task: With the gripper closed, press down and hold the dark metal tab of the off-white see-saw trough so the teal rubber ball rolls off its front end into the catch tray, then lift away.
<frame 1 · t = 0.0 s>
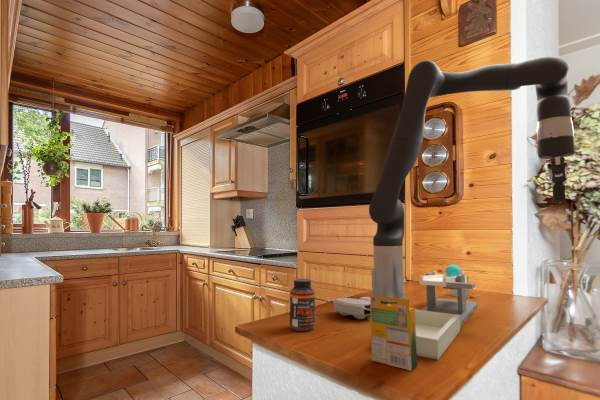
hand: (559, 201, 87), 29 cm above the counter, tool pointing down, fingers open, 8 cm apart
robot toy: (361, 315, 93), on the counter
architectural model: (461, 298, 114), on the counter
crayon box: (394, 364, 60), on the counter
catch tray: (420, 338, 73), on the counter
ball: (453, 271, 102), point 10 cm above the counter, tilted 15°, touching trough
supplement bottle: (302, 329, 81), on the counter
trough: (456, 281, 92), point 9 cm above the counter, hinge at -6.0°, touching ball
stand: (446, 313, 93), on the counter
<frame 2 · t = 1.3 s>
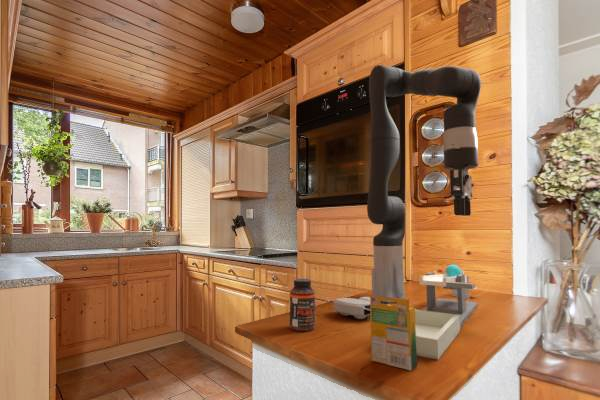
hand: (462, 215, 83), 26 cm above the counter, tool pointing down, fingers open, 8 cm apart
nothing on the counter moved.
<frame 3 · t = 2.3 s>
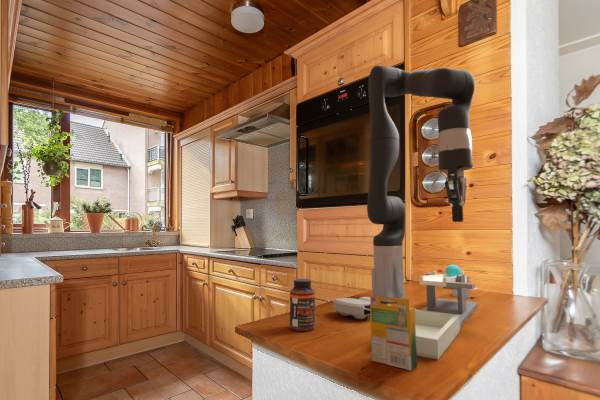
hand: (457, 221, 82), 25 cm above the counter, tool pointing down, fingers closed
nothing on the counter moved.
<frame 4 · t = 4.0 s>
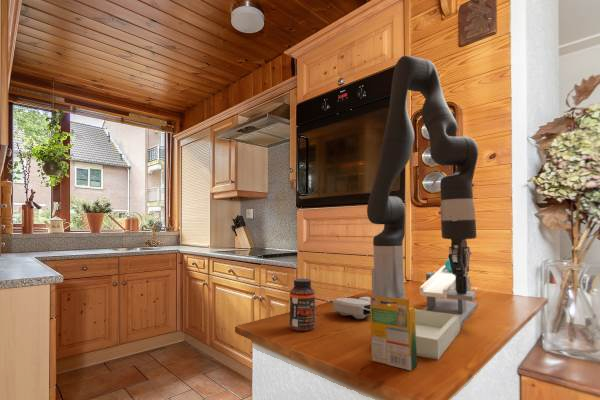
hand: (461, 292, 81), 8 cm above the counter, tool pointing down, fingers closed
ball: (452, 264, 102), point 12 cm above the counter, touching trough
trough: (456, 281, 92), point 9 cm above the counter, hinge at 6.1°, touching ball, gripper
everything else where it was.
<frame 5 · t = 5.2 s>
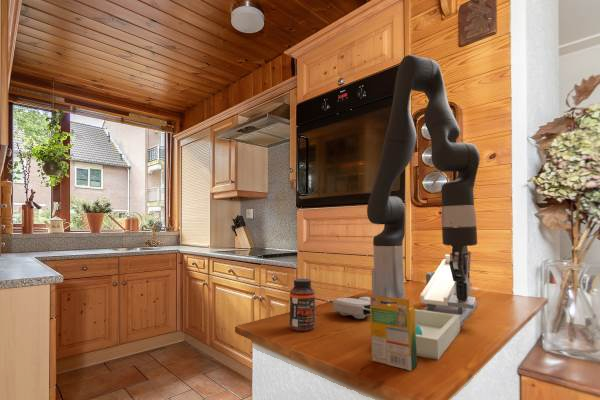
hand: (462, 298, 81), 6 cm above the counter, tool pointing down, fingers closed
ball: (411, 333, 69), point 2 cm above the counter, tilted 172°, touching catch tray
trough: (456, 281, 92), point 9 cm above the counter, hinge at 14.6°, touching gripper
everything else where it was.
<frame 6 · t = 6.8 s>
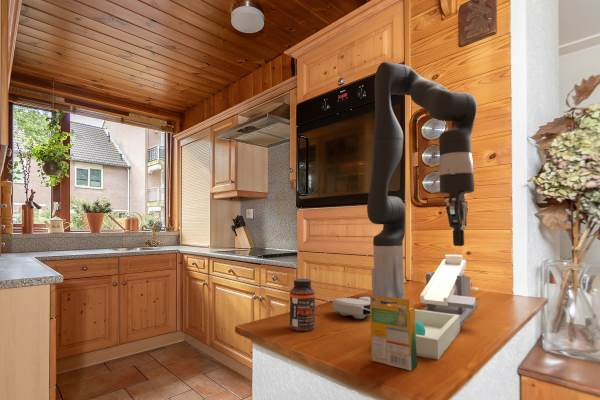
hand: (458, 245, 82), 19 cm above the counter, tool pointing down, fingers closed
ball: (414, 330, 70), point 2 cm above the counter, tilted 112°, touching catch tray
trough: (456, 281, 92), point 9 cm above the counter, hinge at 14.6°
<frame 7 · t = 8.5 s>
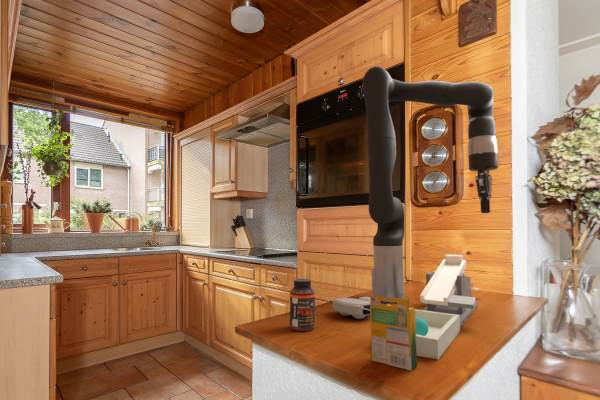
hand: (485, 212, 99), 27 cm above the counter, tool pointing down, fingers closed
ball: (418, 327, 72), point 2 cm above the counter, tilted 47°, touching catch tray
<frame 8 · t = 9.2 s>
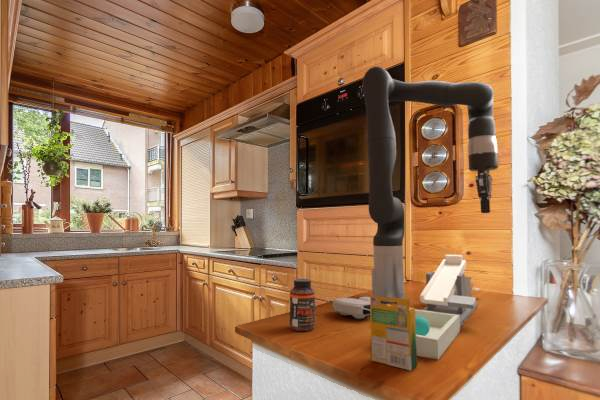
hand: (485, 212, 99), 27 cm above the counter, tool pointing down, fingers closed
ball: (419, 326, 73), point 2 cm above the counter, tilted 20°, touching catch tray
at the end: ball inside the target area on the catch tray (0.0 cm from its centre), point 2.5 cm above the catch tray's base; ball moved 34.8 cm from its start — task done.
